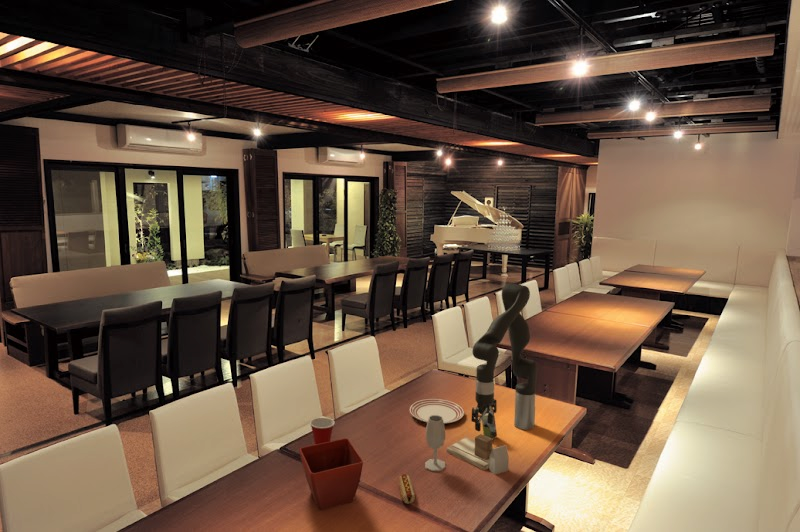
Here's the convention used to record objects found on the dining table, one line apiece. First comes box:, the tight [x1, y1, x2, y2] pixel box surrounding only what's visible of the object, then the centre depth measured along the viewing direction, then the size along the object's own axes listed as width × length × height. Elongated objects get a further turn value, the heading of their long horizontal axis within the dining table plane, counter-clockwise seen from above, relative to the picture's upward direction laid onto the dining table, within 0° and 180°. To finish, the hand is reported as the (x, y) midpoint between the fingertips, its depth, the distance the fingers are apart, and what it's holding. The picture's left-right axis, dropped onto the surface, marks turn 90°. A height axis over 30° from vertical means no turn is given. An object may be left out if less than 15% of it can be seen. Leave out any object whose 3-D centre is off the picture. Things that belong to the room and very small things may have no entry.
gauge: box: [474, 433, 494, 460], centre depth 206 cm, size 4×8×8 cm, turn 44°
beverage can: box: [481, 413, 498, 440], centre depth 225 cm, size 6×7×12 cm
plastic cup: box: [309, 417, 335, 445], centre depth 216 cm, size 11×11×12 cm
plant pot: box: [299, 437, 364, 511], centre depth 180 cm, size 19×19×17 cm
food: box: [397, 473, 416, 505], centre depth 182 cm, size 14×6×5 cm, turn 9°
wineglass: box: [424, 415, 446, 472], centre depth 200 cm, size 9×9×21 cm
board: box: [446, 436, 493, 471], centre depth 210 cm, size 14×20×2 cm
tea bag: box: [488, 444, 510, 475], centre depth 198 cm, size 4×7×10 cm, turn 116°
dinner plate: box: [409, 398, 465, 425], centre depth 248 cm, size 27×27×3 cm
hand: (484, 427), depth 204 cm, fingers open, 8 cm apart
